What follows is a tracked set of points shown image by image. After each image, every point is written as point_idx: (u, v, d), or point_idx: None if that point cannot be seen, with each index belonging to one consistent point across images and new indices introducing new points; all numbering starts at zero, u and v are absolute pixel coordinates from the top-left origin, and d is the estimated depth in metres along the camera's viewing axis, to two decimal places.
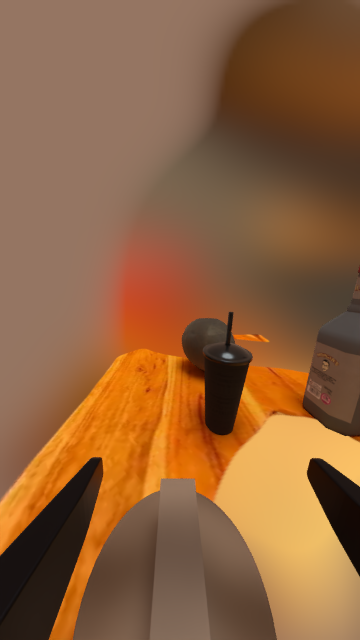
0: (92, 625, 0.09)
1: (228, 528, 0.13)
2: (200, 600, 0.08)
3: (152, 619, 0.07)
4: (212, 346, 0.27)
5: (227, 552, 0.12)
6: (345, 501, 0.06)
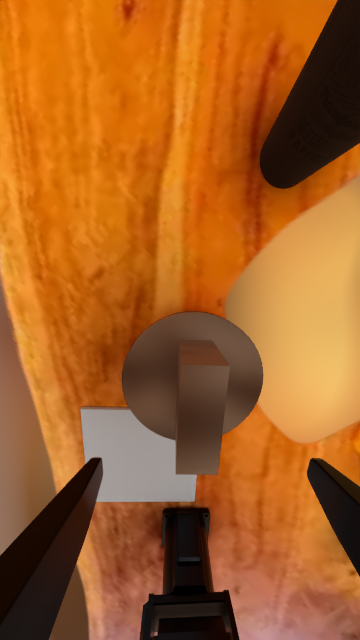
0: (134, 390, 0.13)
1: (248, 350, 0.13)
2: (215, 446, 0.10)
3: (177, 452, 0.10)
4: None
5: (241, 364, 0.13)
6: (346, 501, 0.06)
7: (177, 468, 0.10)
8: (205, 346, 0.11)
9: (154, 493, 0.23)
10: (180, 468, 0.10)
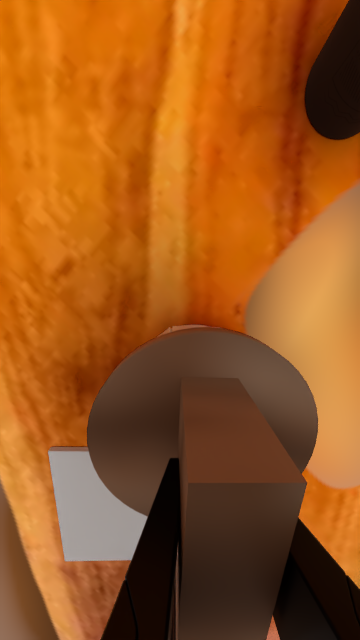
0: (109, 456, 0.08)
1: (297, 392, 0.08)
2: (259, 623, 0.05)
3: (180, 636, 0.05)
4: None
5: (283, 414, 0.08)
6: None
7: None
8: (229, 396, 0.06)
9: None
10: None
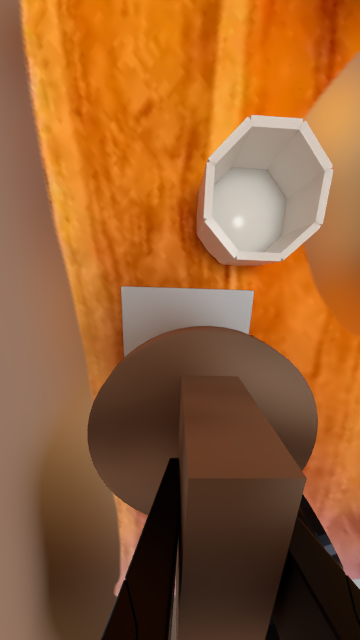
0: (109, 454, 0.08)
1: (297, 391, 0.08)
2: (259, 619, 0.05)
3: (180, 632, 0.05)
4: None
5: (283, 412, 0.08)
6: None
7: None
8: (229, 394, 0.06)
9: None
10: None
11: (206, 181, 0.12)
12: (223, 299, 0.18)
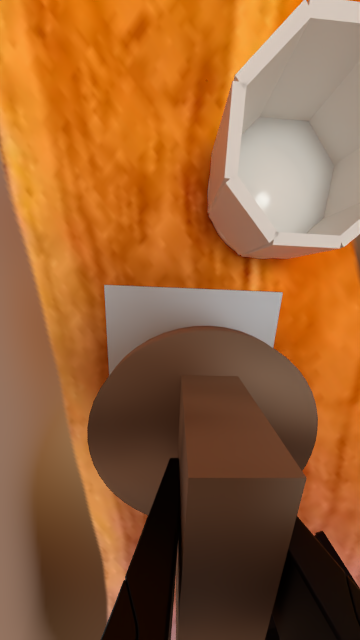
0: (109, 454, 0.08)
1: (297, 390, 0.08)
2: (259, 619, 0.05)
3: (180, 632, 0.05)
4: None
5: (283, 412, 0.08)
6: None
7: None
8: (229, 394, 0.06)
9: None
10: None
11: (231, 115, 0.07)
12: (241, 304, 0.14)
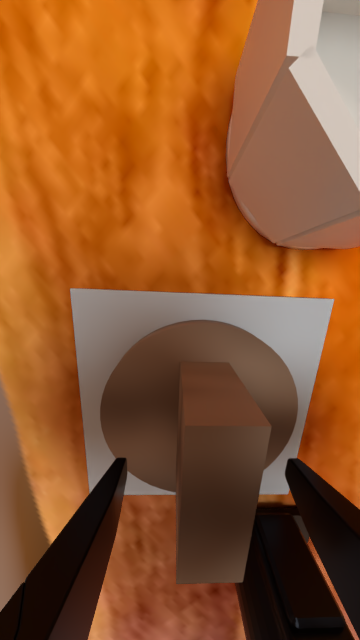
0: (118, 431, 0.10)
1: (279, 375, 0.09)
2: (241, 545, 0.06)
3: (179, 555, 0.06)
4: None
5: (268, 394, 0.09)
6: (318, 501, 0.06)
7: (179, 575, 0.06)
8: (220, 375, 0.08)
9: None
10: (183, 576, 0.06)
11: None
12: (273, 316, 0.09)
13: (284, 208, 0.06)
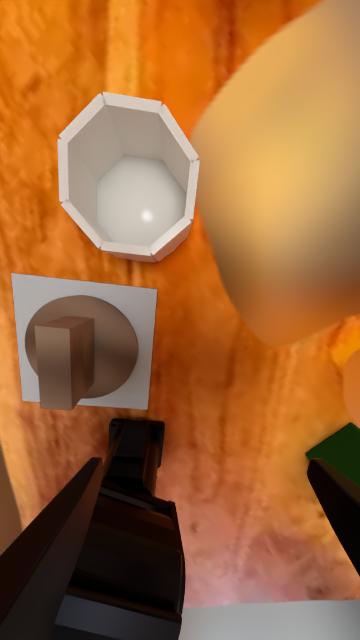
0: (35, 354, 0.17)
1: (122, 327, 0.17)
2: (67, 388, 0.14)
3: (39, 391, 0.14)
4: None
5: (118, 338, 0.17)
6: (345, 501, 0.06)
7: (41, 403, 0.14)
8: (78, 320, 0.15)
9: None
10: (43, 403, 0.14)
11: (59, 160, 0.11)
12: (124, 296, 0.17)
13: None
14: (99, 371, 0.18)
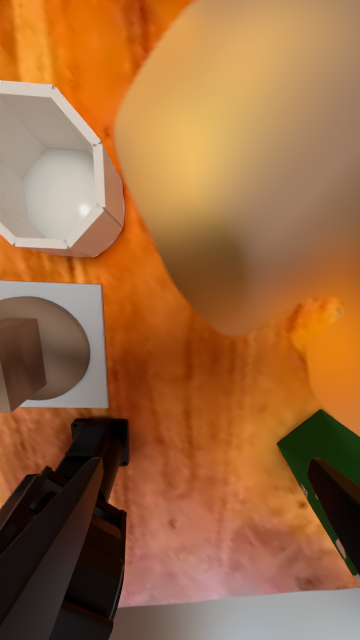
0: None
1: (67, 326, 0.17)
2: (2, 390, 0.14)
3: None
4: None
5: (64, 337, 0.17)
6: (346, 501, 0.06)
7: None
8: (16, 321, 0.15)
9: (59, 396, 0.19)
10: None
11: None
12: (68, 294, 0.17)
13: None
14: (50, 372, 0.18)
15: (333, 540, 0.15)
